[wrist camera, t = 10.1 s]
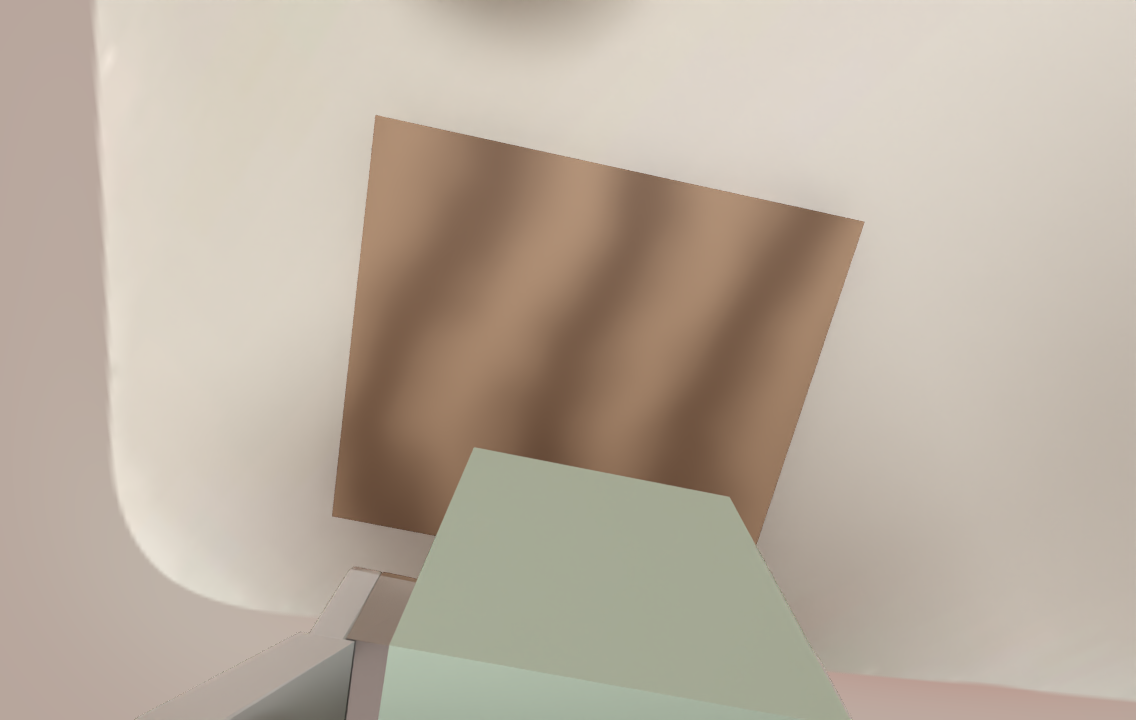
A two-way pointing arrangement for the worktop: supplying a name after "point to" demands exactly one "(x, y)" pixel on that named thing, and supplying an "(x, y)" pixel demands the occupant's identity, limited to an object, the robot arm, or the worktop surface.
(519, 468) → the sage cube
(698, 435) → the cutting board
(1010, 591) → the worktop surface
